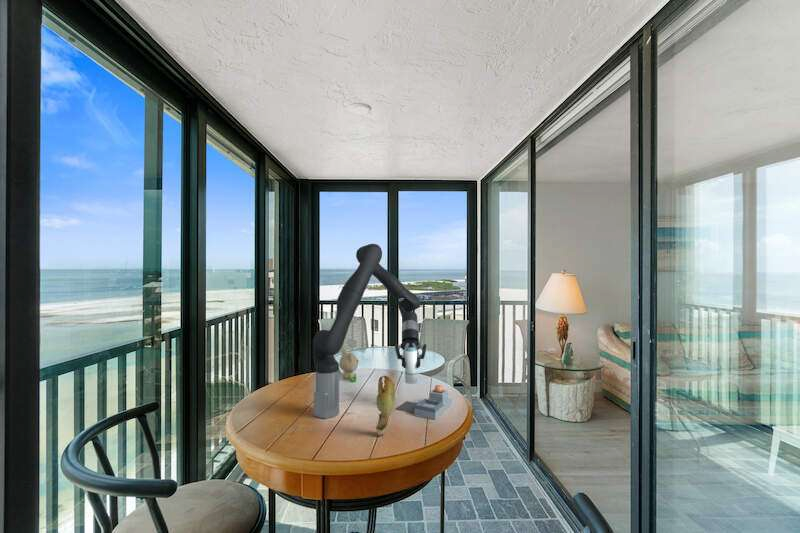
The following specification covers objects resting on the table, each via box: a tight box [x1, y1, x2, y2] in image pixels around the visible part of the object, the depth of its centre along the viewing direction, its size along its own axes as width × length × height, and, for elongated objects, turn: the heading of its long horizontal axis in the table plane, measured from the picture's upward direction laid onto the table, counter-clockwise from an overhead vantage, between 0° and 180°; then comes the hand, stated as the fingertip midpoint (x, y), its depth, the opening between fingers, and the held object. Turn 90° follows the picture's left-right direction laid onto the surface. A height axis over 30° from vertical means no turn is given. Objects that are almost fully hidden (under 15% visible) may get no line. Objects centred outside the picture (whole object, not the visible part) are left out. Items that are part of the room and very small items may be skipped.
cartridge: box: [404, 347, 418, 385], centre depth 147 cm, size 5×5×14 cm
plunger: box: [434, 384, 444, 393], centre depth 150 cm, size 3×3×2 cm
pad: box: [394, 400, 419, 414], centre depth 148 cm, size 10×10×1 cm
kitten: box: [338, 348, 359, 383], centre depth 190 cm, size 15×10×15 cm
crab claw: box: [376, 375, 396, 437], centre depth 123 cm, size 7×5×20 cm
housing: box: [413, 388, 453, 421], centre depth 145 cm, size 17×9×6 cm, turn 151°
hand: (411, 367), depth 145 cm, fingers closed on cartridge, 5 cm apart
